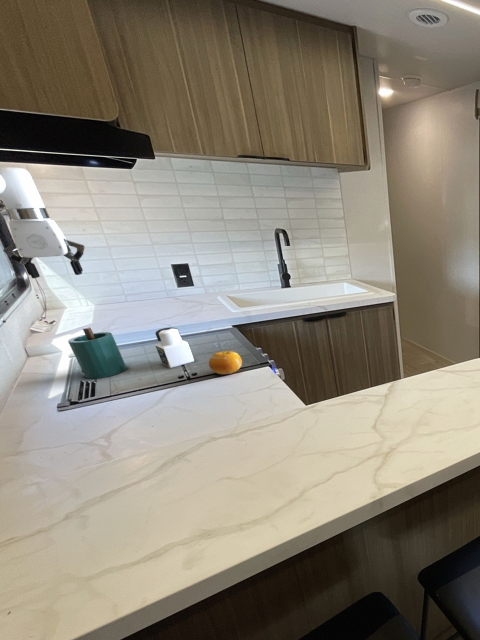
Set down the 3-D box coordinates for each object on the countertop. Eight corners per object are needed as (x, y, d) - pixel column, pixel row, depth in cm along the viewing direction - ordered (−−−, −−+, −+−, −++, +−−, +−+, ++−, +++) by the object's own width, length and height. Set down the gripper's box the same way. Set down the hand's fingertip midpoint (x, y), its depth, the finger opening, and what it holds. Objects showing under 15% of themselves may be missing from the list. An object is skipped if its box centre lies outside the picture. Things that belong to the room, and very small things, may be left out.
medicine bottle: (162, 363, 136) (148, 330, 131) (186, 357, 142) (174, 324, 137) (170, 368, 132) (156, 333, 128) (194, 361, 138) (182, 328, 133)
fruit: (251, 358, 130) (229, 340, 126) (232, 376, 124) (209, 359, 120) (240, 365, 135) (218, 348, 131) (222, 383, 129) (199, 366, 125)
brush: (92, 372, 128) (72, 330, 122) (105, 366, 132) (86, 325, 126) (105, 372, 128) (86, 330, 122) (118, 366, 132) (99, 325, 126)
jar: (76, 378, 126) (58, 342, 121) (106, 366, 135) (90, 332, 130) (106, 378, 126) (90, 342, 121) (134, 366, 135) (120, 332, 130)
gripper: (-21, 217, 108) (11, 281, 115) (64, 214, 115) (90, 275, 122) (-6, 216, 114) (25, 276, 121) (75, 213, 121) (99, 271, 128)
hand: (58, 275), depth 122 cm, fingers open, 9 cm apart
